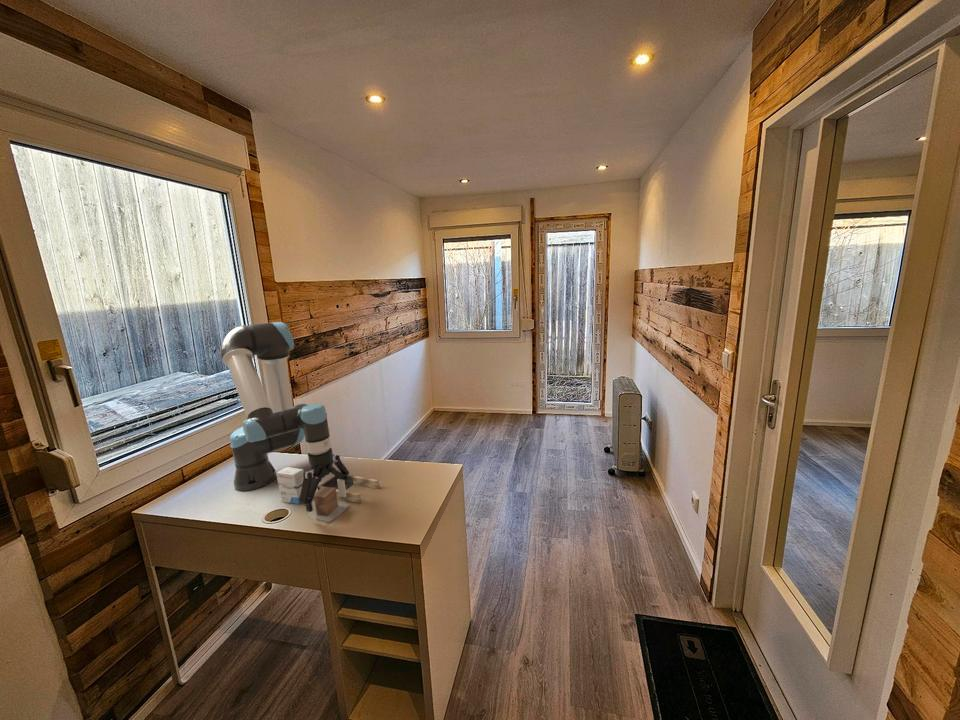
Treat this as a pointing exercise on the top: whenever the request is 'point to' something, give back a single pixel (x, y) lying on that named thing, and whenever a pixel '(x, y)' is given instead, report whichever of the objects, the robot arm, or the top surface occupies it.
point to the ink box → (290, 484)
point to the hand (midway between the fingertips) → (329, 506)
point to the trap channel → (350, 481)
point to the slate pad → (333, 513)
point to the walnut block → (325, 500)
